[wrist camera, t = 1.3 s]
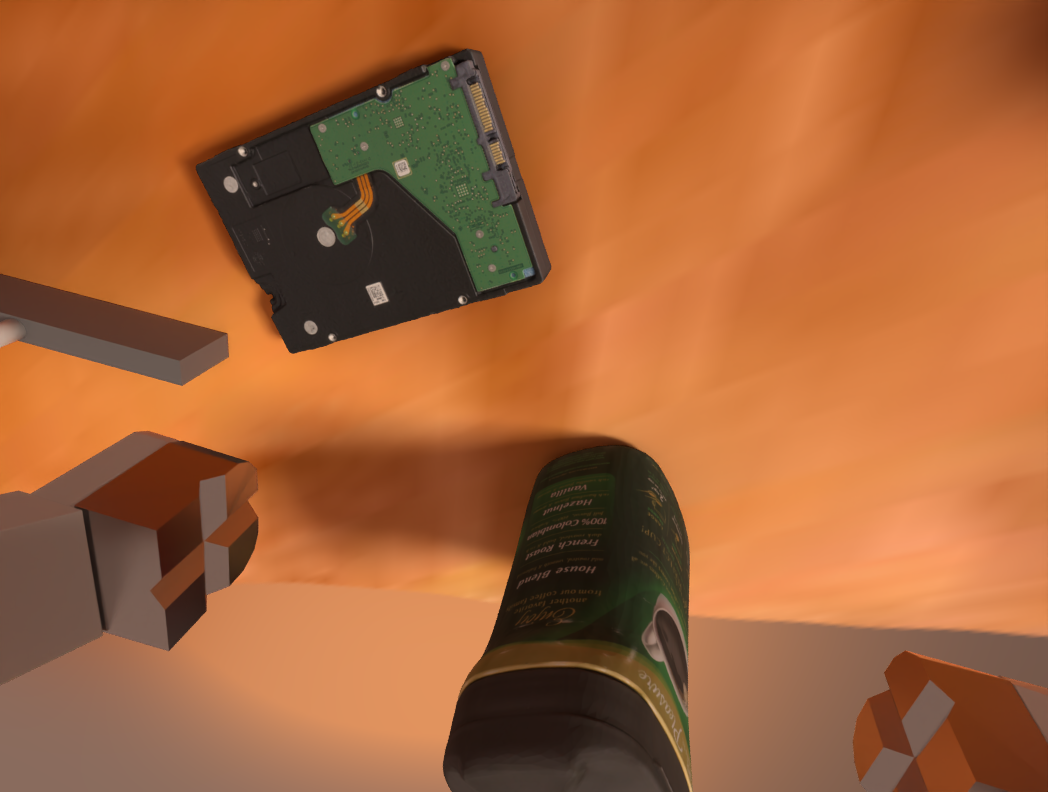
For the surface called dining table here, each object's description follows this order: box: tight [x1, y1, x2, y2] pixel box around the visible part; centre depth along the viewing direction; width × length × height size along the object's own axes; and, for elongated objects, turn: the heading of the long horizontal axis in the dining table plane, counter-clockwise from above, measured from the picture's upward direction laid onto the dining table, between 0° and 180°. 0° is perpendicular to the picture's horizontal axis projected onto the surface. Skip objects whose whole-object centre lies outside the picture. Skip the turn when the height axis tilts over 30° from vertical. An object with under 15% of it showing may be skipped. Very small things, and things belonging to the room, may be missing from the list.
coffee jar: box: [443, 445, 693, 792], centre depth 28 cm, size 10×8×19 cm
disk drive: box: [196, 49, 551, 354], centre depth 31 cm, size 10×3×15 cm
